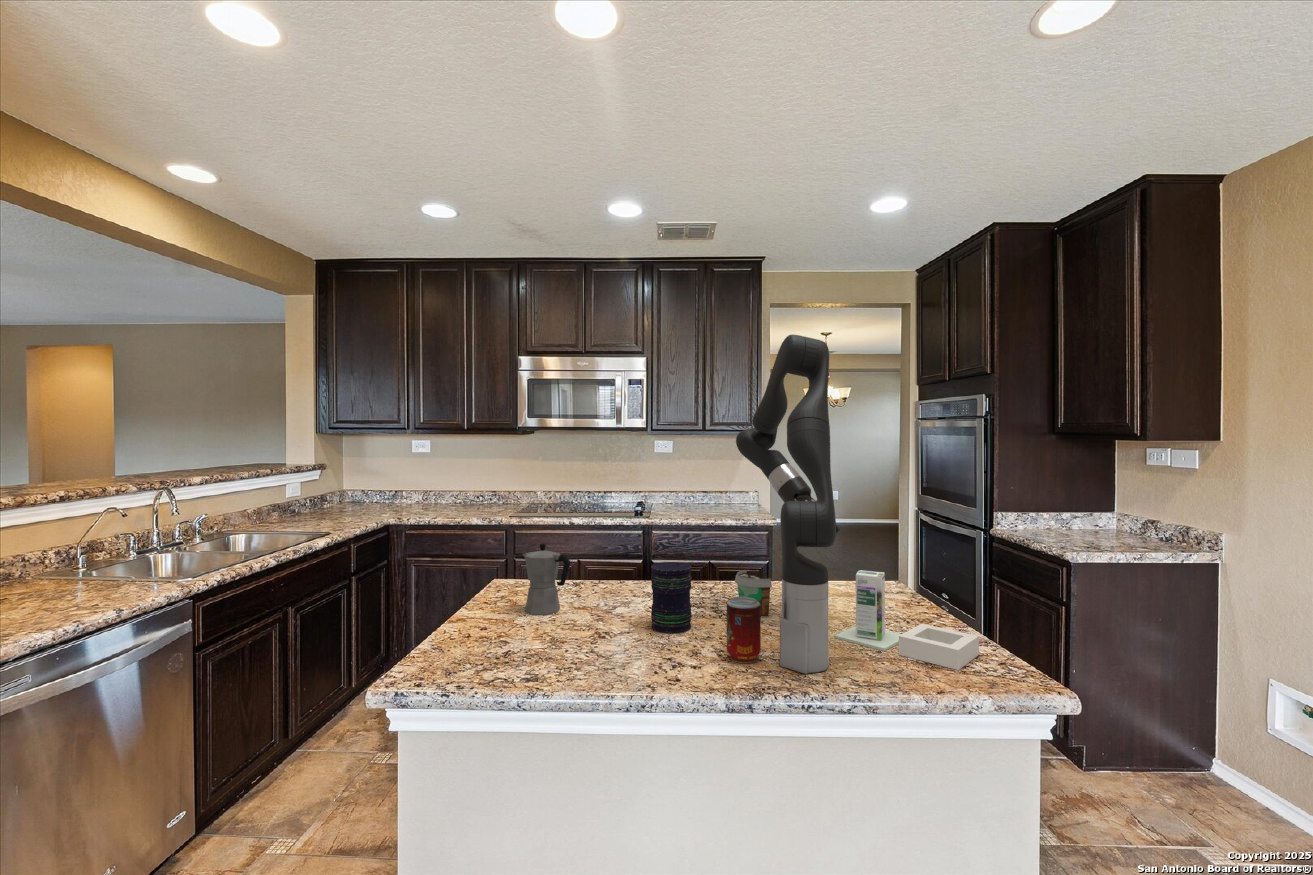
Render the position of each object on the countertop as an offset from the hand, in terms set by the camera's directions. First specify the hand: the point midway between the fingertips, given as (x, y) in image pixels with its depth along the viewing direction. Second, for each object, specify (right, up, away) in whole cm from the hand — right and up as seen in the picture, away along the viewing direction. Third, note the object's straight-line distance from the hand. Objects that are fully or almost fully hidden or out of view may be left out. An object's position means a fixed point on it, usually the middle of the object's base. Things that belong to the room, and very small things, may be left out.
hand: (827, 534), depth 148 cm
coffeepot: (-71, -23, +13) cm, 76 cm away
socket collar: (+18, -22, -20) cm, 35 cm away
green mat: (+8, -22, -9) cm, 25 cm away
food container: (-18, -23, +11) cm, 31 cm away
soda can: (-24, -23, -21) cm, 39 cm away
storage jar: (-38, -23, -1) cm, 44 cm away
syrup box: (+8, -22, -9) cm, 25 cm away
